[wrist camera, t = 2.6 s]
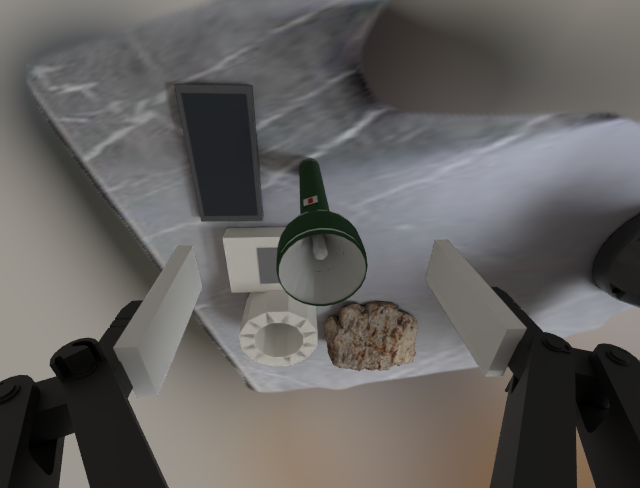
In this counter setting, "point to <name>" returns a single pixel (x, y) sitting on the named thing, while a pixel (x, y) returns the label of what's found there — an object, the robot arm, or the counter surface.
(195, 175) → the phone
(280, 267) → the flashlight
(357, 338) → the rock
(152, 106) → the counter surface
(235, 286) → the block
